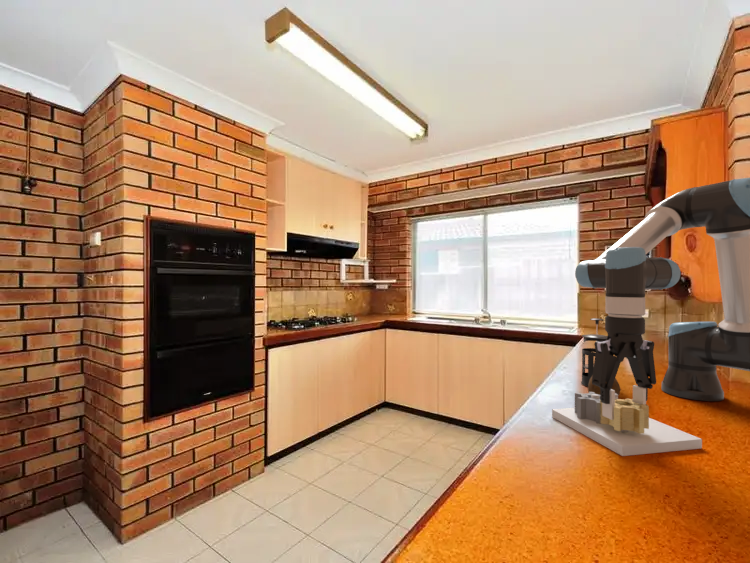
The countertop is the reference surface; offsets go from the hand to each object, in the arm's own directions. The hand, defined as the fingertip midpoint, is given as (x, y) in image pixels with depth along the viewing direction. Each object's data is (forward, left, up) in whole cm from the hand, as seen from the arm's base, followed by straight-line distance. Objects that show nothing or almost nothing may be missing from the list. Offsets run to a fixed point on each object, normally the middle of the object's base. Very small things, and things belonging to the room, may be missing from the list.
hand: (623, 416), depth 84 cm
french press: (-28, -39, -6) cm, 48 cm away
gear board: (-3, -4, -5) cm, 7 cm away
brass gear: (0, 0, -2) cm, 2 cm away
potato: (-18, -25, -6) cm, 31 cm away
